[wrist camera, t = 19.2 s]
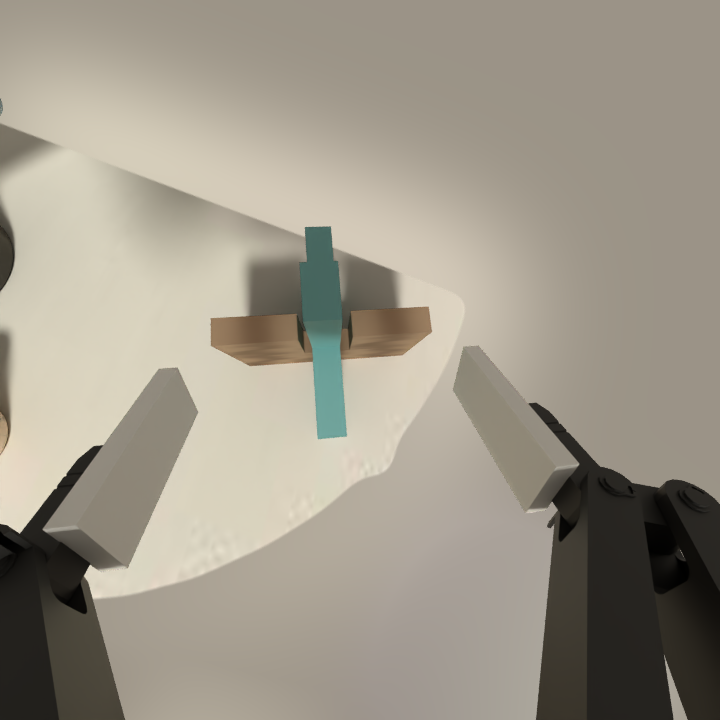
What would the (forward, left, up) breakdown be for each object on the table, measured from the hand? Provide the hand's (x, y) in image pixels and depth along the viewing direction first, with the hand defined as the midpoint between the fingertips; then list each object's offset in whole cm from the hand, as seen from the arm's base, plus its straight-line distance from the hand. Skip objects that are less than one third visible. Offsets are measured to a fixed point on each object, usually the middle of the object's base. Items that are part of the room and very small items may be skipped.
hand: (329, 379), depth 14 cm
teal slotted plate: (-1, +6, -24) cm, 25 cm away
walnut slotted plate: (-1, +6, -24) cm, 25 cm away
